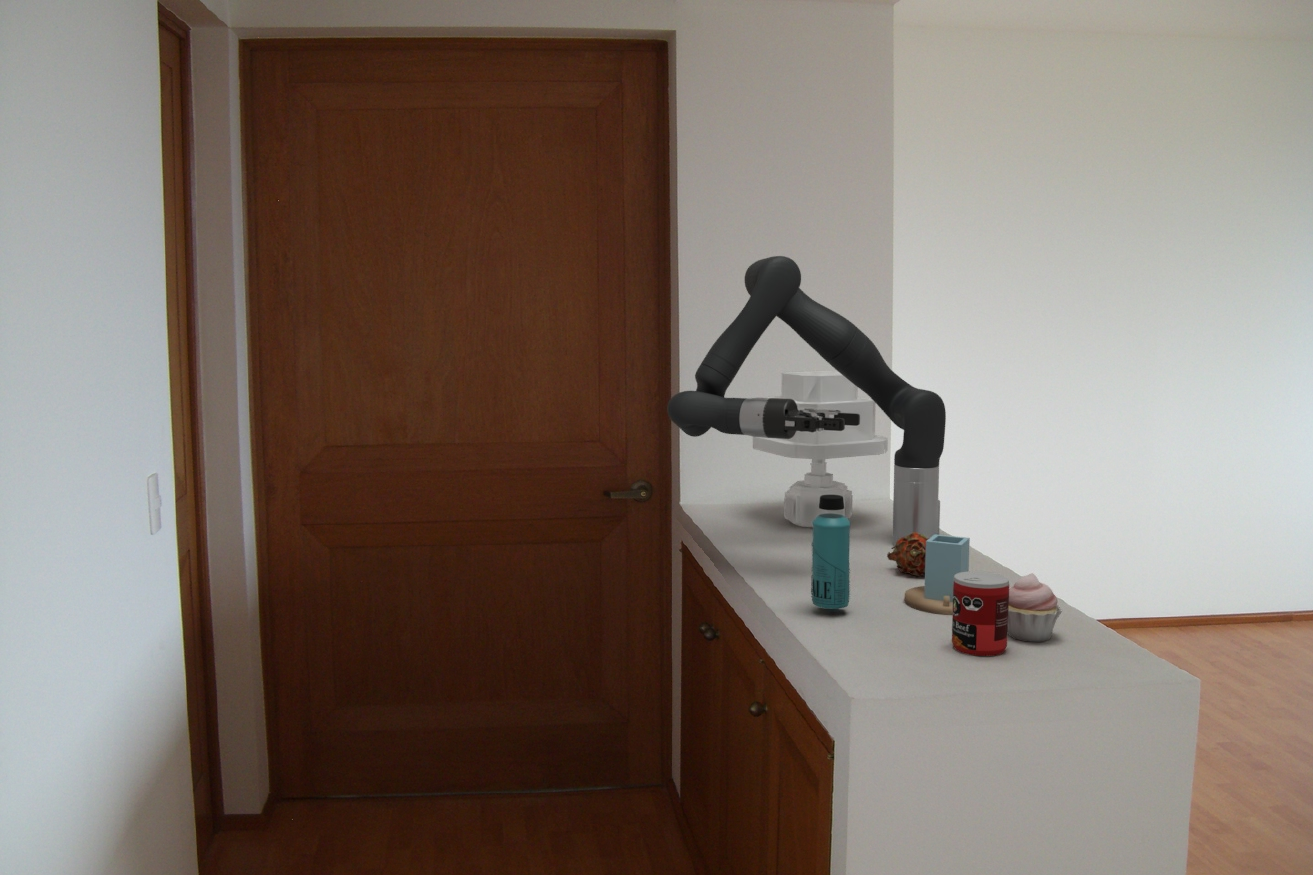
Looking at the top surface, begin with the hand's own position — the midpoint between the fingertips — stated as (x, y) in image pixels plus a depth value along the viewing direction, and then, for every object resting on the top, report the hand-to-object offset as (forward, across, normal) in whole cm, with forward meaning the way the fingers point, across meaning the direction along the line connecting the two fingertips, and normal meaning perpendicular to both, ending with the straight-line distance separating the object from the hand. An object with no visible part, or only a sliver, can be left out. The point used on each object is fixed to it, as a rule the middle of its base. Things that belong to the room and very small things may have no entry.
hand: (851, 422), depth 194 cm
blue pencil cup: (+19, -4, +29) cm, 35 cm away
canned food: (+29, -26, +30) cm, 49 cm away
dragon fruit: (+8, +13, +30) cm, 34 cm away
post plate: (+19, -4, +30) cm, 36 cm away
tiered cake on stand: (-24, +48, +30) cm, 62 cm away
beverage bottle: (+3, -19, +30) cm, 36 cm away
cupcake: (+35, -16, +30) cm, 49 cm away
